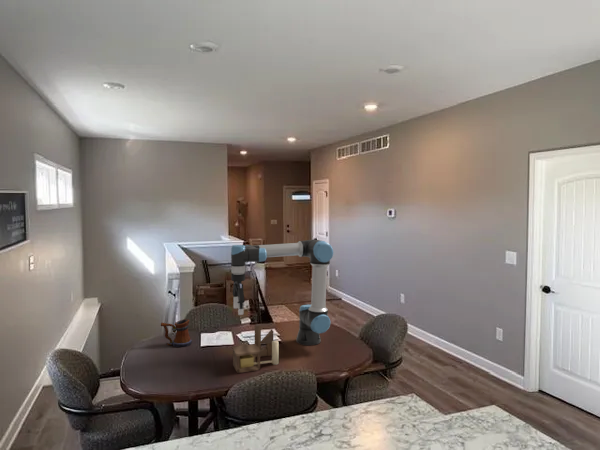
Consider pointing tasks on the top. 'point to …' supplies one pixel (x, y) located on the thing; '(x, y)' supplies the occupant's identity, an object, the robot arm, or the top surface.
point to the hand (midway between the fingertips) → (238, 311)
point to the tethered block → (249, 361)
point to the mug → (179, 333)
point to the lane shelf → (245, 350)
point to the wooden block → (263, 341)
